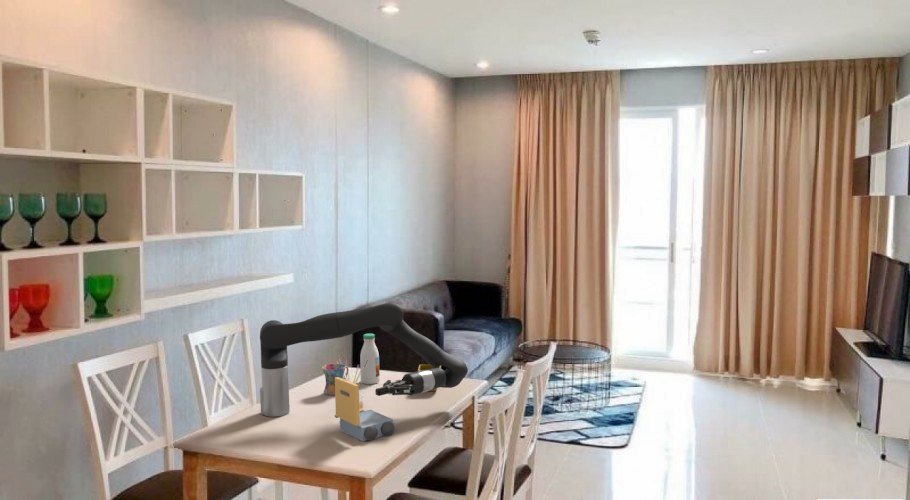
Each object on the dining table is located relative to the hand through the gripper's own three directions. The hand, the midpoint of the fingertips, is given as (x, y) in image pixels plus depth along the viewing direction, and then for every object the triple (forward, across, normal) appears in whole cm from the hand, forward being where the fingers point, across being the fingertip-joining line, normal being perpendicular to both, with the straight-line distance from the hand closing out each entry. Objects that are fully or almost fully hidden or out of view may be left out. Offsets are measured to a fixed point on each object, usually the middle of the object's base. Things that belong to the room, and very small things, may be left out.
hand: (376, 392), depth 241 cm
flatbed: (+4, 0, +12) cm, 13 cm away
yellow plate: (+11, 0, +7) cm, 13 cm away
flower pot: (-40, -24, +13) cm, 49 cm away
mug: (-11, -46, +12) cm, 49 cm away
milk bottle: (-29, -49, +13) cm, 58 cm away
